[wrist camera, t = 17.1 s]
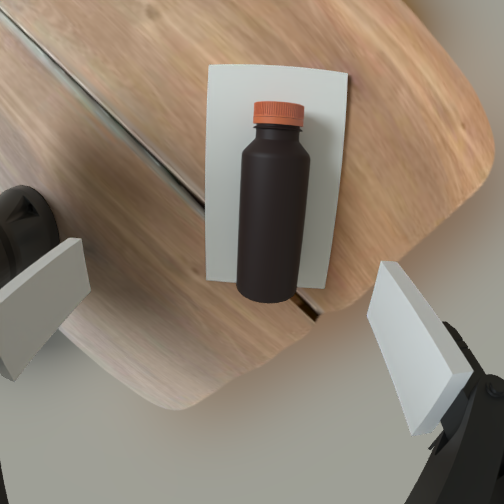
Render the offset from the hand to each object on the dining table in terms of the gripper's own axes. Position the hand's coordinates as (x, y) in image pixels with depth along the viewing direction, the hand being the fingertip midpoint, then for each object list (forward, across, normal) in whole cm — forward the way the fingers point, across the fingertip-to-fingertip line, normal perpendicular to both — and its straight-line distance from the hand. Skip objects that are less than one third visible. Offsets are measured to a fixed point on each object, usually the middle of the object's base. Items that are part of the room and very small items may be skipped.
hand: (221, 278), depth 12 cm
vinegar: (+19, +2, -12) cm, 23 cm away
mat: (+23, +2, 0) cm, 23 cm away
